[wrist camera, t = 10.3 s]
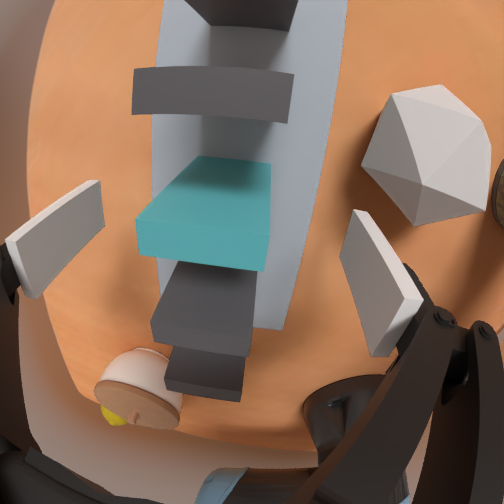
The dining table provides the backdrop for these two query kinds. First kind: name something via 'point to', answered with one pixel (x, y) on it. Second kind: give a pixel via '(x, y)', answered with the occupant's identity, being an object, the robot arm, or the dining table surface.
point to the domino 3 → (207, 309)
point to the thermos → (498, 195)
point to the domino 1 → (247, 13)
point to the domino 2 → (213, 92)
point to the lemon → (112, 417)
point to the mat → (258, 126)
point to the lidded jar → (140, 390)
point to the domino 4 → (205, 374)
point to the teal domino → (211, 215)
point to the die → (430, 155)
